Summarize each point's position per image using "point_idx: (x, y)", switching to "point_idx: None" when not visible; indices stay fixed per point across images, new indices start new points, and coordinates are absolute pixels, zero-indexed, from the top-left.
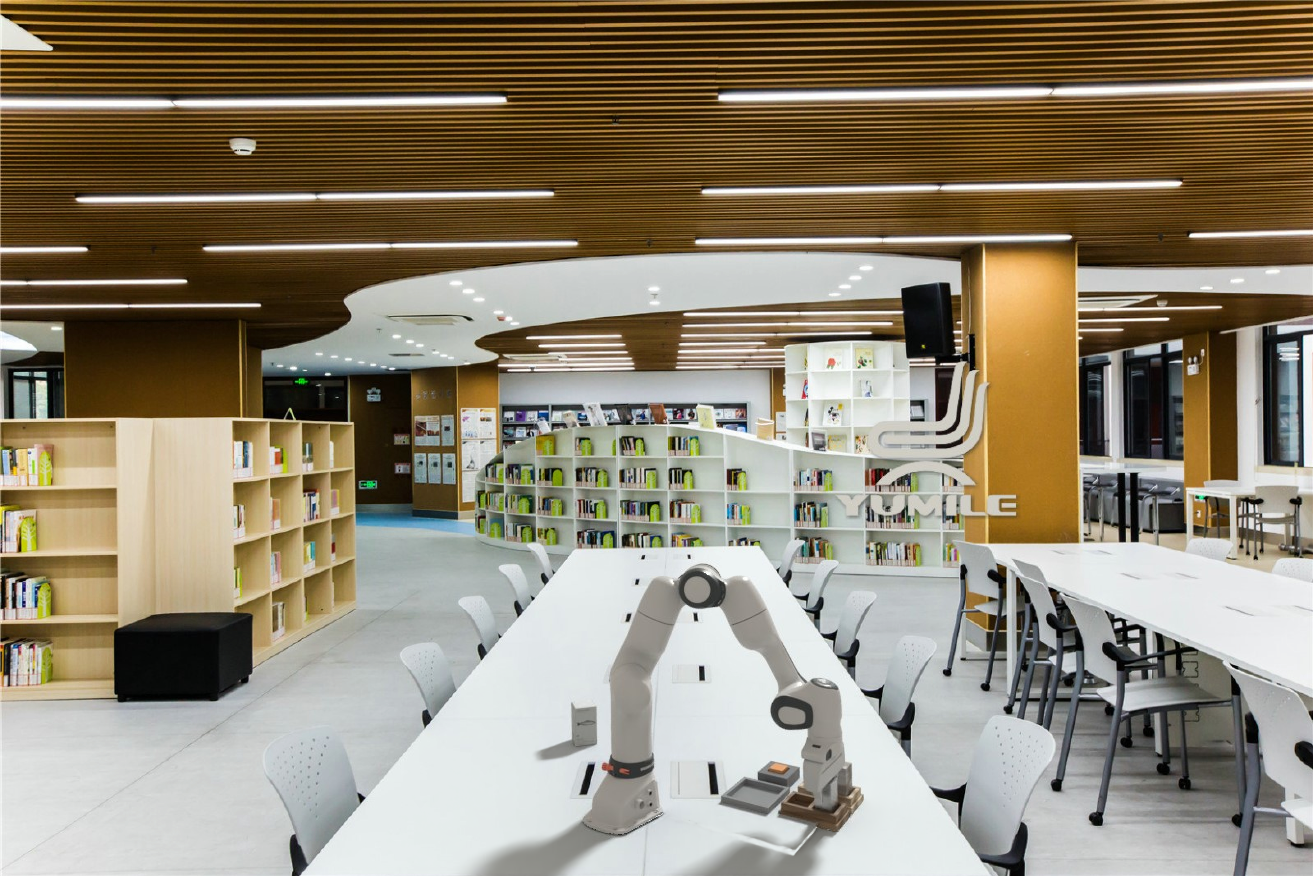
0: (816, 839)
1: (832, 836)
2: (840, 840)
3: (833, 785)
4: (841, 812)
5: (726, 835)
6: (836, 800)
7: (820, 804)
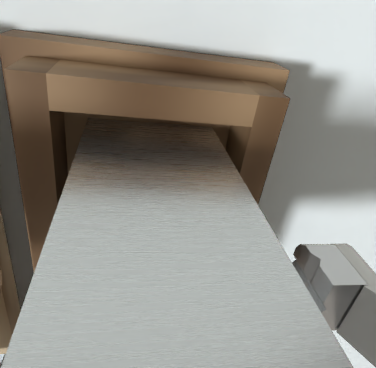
0: (367, 143)
1: (326, 75)
2: (368, 15)
3: (211, 317)
4: (160, 80)
5: (363, 363)
6: (100, 165)
7: (346, 248)
